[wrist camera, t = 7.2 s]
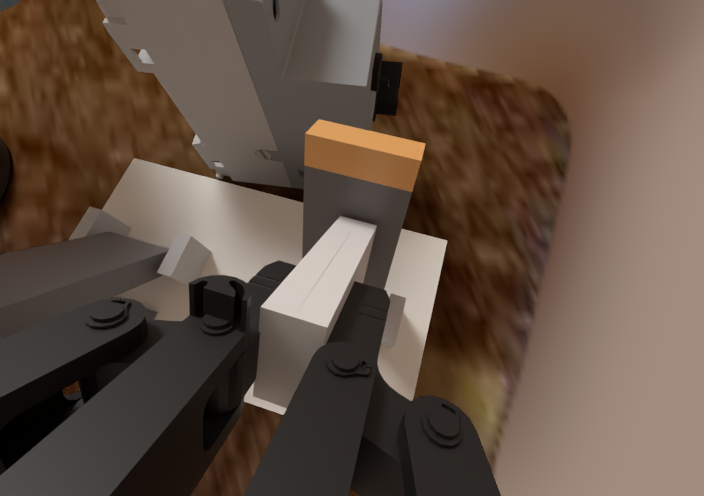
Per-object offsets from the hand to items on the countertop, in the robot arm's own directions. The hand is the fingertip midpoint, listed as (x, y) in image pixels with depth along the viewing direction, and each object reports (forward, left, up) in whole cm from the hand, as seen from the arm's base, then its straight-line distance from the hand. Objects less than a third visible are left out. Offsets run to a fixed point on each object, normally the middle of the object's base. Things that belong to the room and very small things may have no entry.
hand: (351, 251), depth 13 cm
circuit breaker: (-8, +12, -12) cm, 18 cm away
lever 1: (-12, -2, -6) cm, 14 cm away
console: (-6, -2, -12) cm, 13 cm away
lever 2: (0, -1, -6) cm, 6 cm away
